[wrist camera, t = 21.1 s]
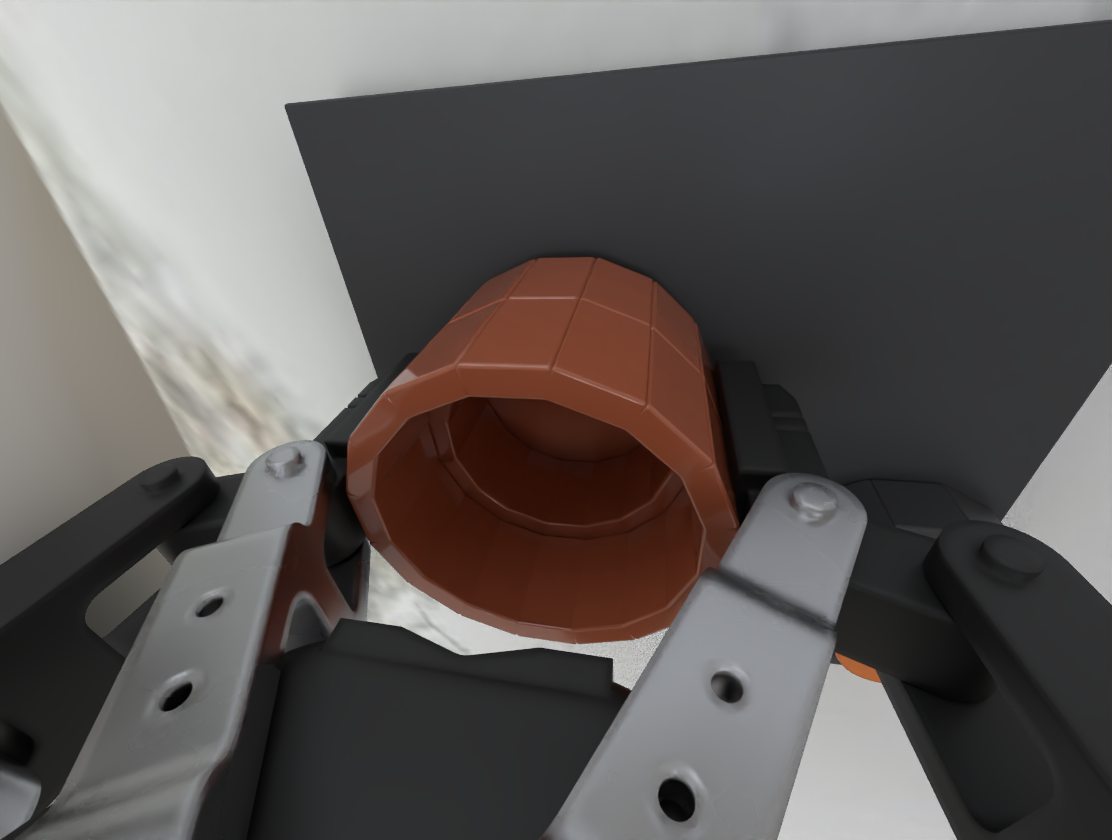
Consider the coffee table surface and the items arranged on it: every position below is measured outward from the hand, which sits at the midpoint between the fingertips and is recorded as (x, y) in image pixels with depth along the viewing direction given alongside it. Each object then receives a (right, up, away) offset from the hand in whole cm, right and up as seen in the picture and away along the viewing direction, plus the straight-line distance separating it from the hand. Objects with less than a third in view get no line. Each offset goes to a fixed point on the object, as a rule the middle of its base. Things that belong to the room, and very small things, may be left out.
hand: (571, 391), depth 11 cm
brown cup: (0, 0, +1) cm, 1 cm away
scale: (+3, +1, +2) cm, 4 cm away
